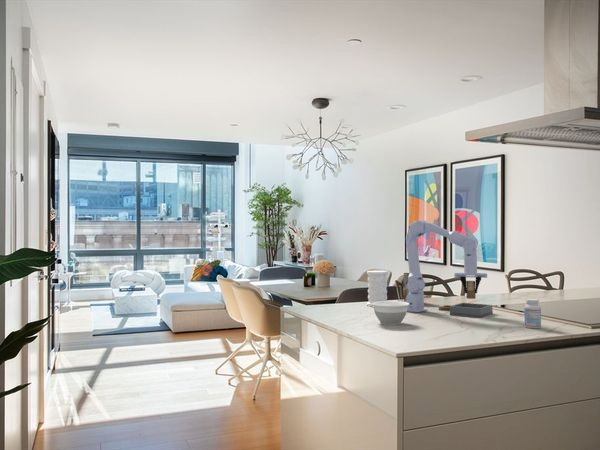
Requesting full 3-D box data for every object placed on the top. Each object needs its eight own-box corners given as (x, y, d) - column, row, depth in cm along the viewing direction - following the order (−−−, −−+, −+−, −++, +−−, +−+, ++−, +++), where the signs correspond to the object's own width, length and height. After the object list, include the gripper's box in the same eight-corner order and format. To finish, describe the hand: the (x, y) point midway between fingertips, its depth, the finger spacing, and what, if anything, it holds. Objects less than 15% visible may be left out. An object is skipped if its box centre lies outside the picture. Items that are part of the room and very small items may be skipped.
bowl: (365, 321, 239) (365, 302, 239) (397, 319, 244) (397, 300, 244) (383, 328, 224) (383, 306, 224) (417, 325, 229) (416, 304, 229)
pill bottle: (527, 325, 225) (526, 298, 225) (543, 327, 221) (542, 299, 221) (522, 327, 220) (522, 299, 220) (538, 329, 216) (538, 300, 216)
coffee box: (422, 302, 300) (421, 272, 300) (421, 303, 294) (420, 273, 294) (404, 301, 302) (404, 272, 303) (403, 303, 296) (403, 273, 296)
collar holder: (454, 311, 265) (454, 308, 265) (438, 309, 270) (438, 306, 270) (461, 309, 271) (461, 306, 271) (445, 308, 276) (445, 305, 277)
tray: (480, 317, 246) (480, 308, 246) (449, 314, 255) (449, 306, 255) (492, 313, 257) (492, 304, 257) (462, 310, 266) (462, 302, 266)
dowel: (473, 299, 253) (473, 281, 253) (465, 298, 256) (465, 281, 256) (476, 298, 256) (476, 280, 256) (468, 297, 259) (468, 280, 259)
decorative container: (381, 303, 296) (381, 270, 297) (393, 306, 286) (392, 271, 286) (362, 304, 292) (362, 271, 292) (373, 307, 281) (373, 272, 281)
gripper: (486, 263, 258) (487, 292, 258) (454, 263, 262) (455, 291, 262) (487, 264, 251) (487, 294, 251) (454, 264, 255) (454, 293, 255)
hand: (470, 293), depth 256 cm, fingers closed on dowel, 4 cm apart
